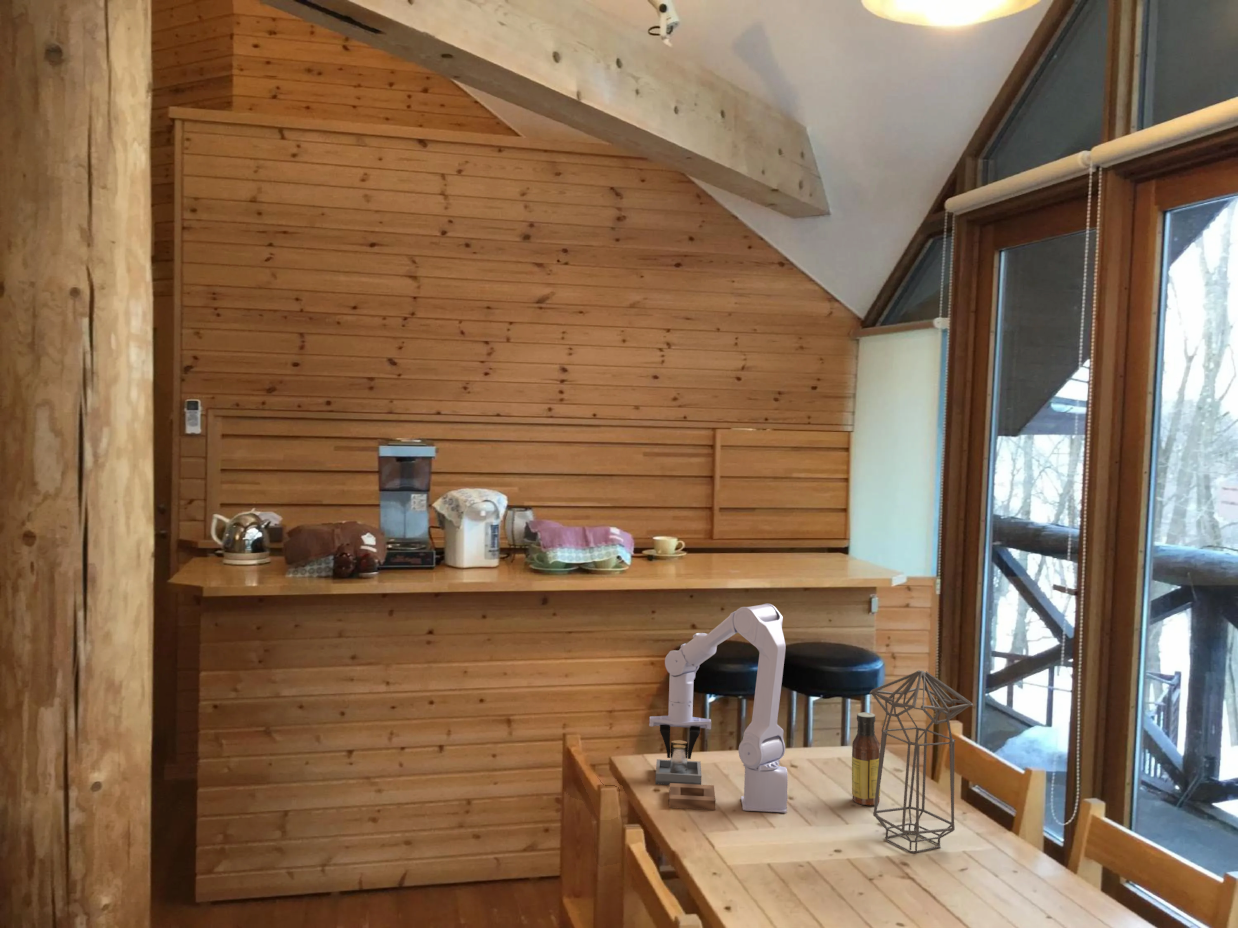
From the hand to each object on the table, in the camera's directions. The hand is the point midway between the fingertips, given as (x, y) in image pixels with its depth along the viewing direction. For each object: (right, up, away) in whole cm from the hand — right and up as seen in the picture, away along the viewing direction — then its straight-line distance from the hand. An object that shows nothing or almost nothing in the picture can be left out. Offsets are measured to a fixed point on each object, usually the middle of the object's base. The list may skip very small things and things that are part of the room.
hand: (678, 757), depth 240 cm
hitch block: (+2, -5, -15) cm, 16 cm away
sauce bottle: (+41, -7, -12) cm, 43 cm away
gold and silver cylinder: (0, -4, 0) cm, 3 cm away
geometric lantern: (+46, -7, -35) cm, 58 cm away
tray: (0, -5, 0) cm, 5 cm away
